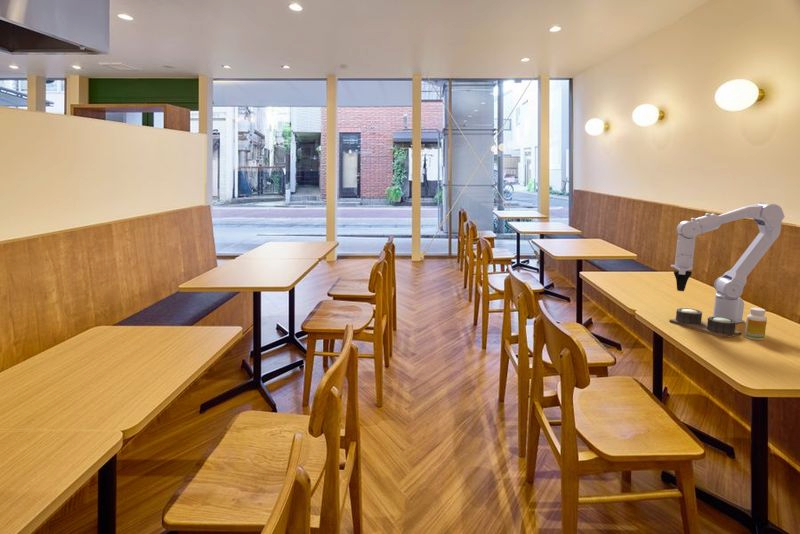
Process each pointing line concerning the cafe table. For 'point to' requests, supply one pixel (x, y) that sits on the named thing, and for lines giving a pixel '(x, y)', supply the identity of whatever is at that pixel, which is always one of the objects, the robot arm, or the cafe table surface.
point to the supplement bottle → (756, 324)
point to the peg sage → (722, 319)
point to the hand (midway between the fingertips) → (680, 290)
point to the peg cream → (688, 311)
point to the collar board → (705, 323)
